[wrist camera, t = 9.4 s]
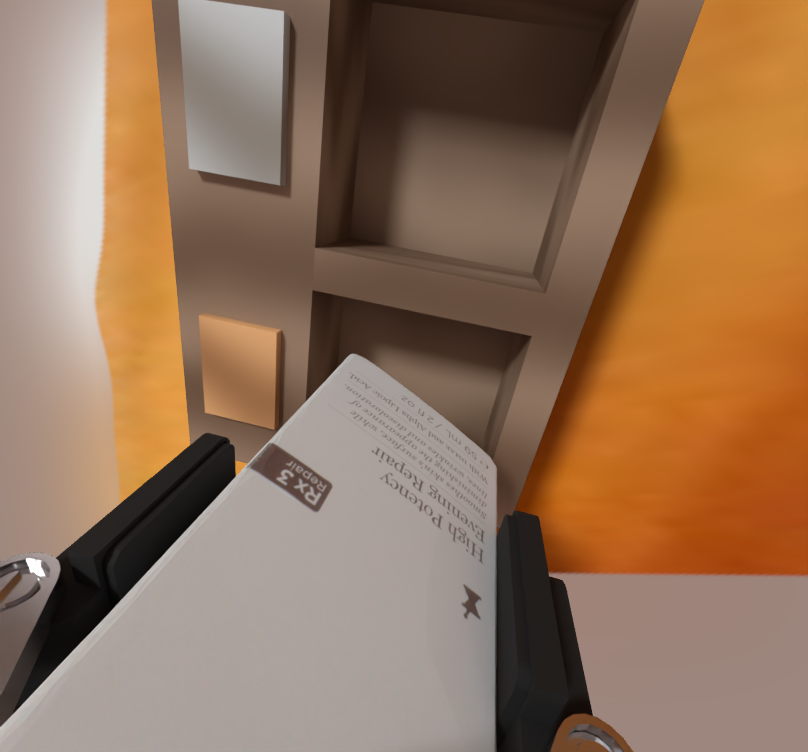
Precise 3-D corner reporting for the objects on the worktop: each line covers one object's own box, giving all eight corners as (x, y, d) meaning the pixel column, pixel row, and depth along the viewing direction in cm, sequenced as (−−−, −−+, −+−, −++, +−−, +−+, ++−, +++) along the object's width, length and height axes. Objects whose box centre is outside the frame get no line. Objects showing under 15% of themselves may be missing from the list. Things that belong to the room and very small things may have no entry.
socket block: (242, -31, 15) (128, -137, 10) (648, 22, 14) (737, -73, 9) (247, 400, 23) (185, 453, 19) (502, 462, 22) (507, 537, 17)
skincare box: (503, 458, 13) (606, 1927, 2) (418, 531, 15) (232, 1478, 4) (347, 340, 12) (-832, 1586, 1) (280, 433, 14) (-420, 1247, 3)
